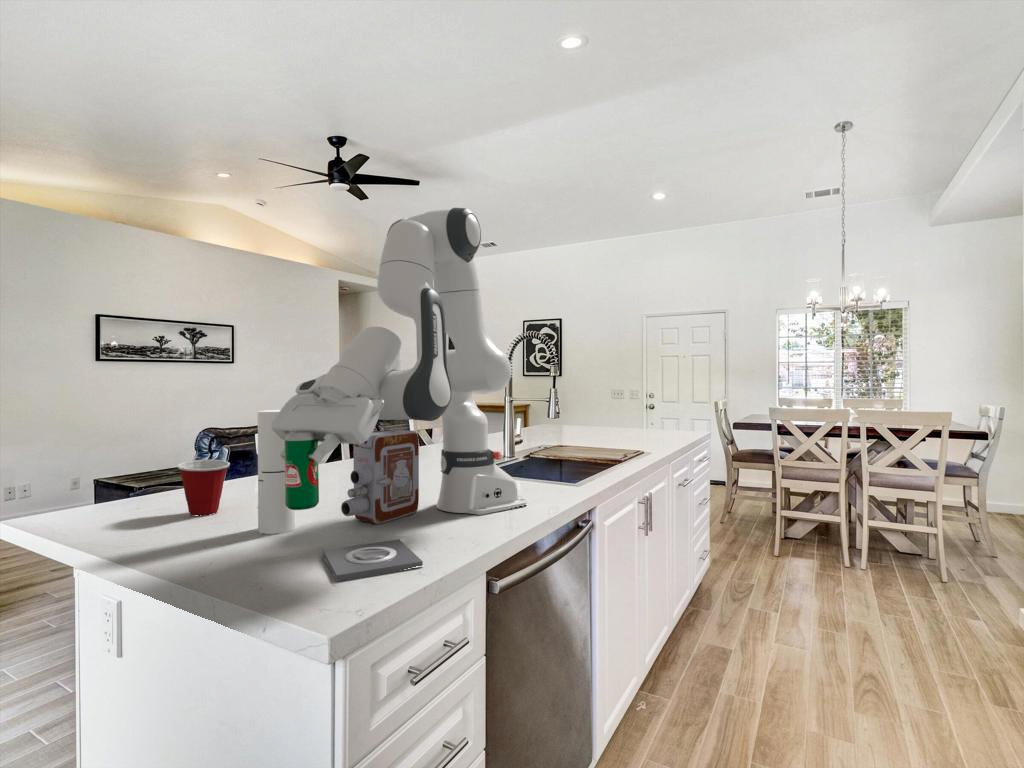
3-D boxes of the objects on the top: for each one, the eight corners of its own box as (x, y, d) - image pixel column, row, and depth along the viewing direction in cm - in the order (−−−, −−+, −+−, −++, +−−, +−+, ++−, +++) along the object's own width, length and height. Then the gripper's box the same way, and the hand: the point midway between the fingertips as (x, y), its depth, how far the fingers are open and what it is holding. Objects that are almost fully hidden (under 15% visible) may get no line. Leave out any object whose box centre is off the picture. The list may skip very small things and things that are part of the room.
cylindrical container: (281, 535, 110) (281, 412, 110) (250, 533, 111) (249, 411, 111) (302, 525, 117) (301, 410, 117) (272, 523, 118) (272, 409, 118)
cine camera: (329, 526, 117) (329, 433, 116) (395, 507, 133) (395, 426, 132) (358, 533, 111) (358, 436, 111) (423, 513, 128) (423, 428, 127)
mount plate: (399, 544, 104) (399, 538, 104) (422, 567, 92) (422, 560, 92) (323, 555, 97) (323, 548, 97) (336, 581, 85) (336, 574, 85)
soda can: (279, 507, 87) (278, 433, 87) (309, 502, 91) (308, 430, 91) (295, 512, 84) (293, 435, 84) (325, 506, 88) (323, 432, 88)
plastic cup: (193, 522, 120) (192, 468, 119) (167, 515, 125) (167, 463, 125) (240, 511, 129) (239, 461, 129) (214, 505, 134) (214, 457, 134)
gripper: (397, 408, 93) (357, 475, 84) (312, 406, 102) (269, 466, 94) (378, 382, 89) (334, 450, 80) (292, 383, 98) (245, 444, 90)
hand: (298, 459), depth 87 cm, fingers closed on soda can, 5 cm apart
